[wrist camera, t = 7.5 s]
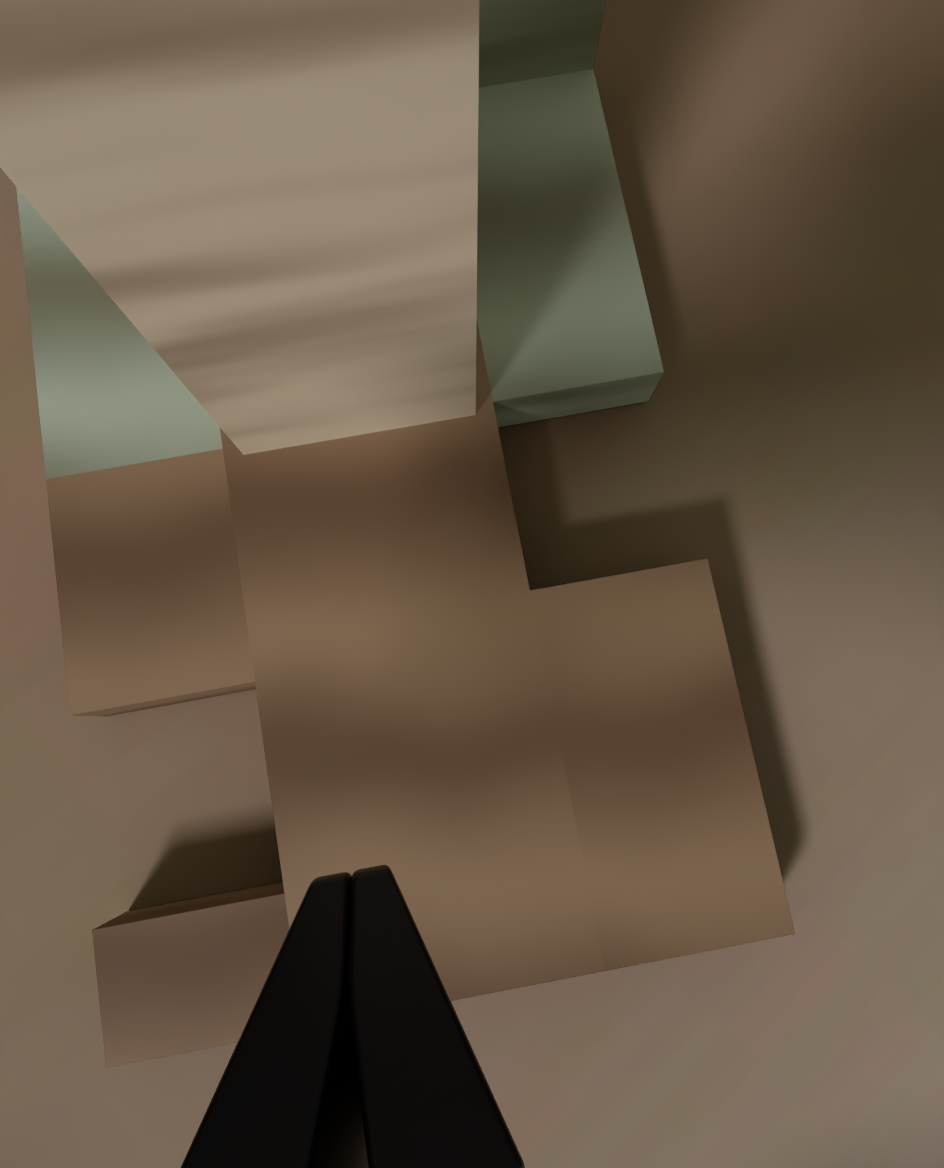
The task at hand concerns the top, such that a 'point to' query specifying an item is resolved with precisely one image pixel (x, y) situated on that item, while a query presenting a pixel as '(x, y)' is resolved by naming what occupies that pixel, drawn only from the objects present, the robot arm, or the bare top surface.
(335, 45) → the beech block
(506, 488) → the trap runway
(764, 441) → the top surface
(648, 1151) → the top surface
